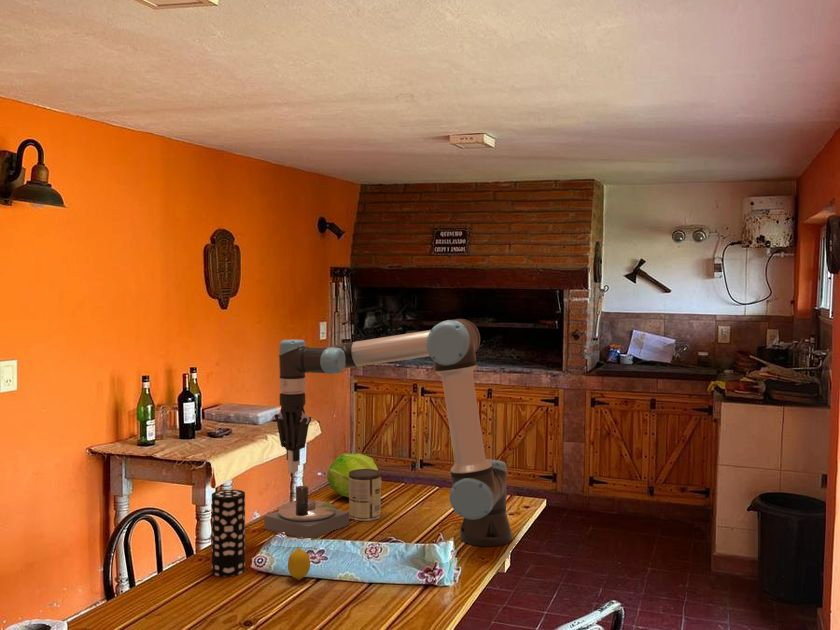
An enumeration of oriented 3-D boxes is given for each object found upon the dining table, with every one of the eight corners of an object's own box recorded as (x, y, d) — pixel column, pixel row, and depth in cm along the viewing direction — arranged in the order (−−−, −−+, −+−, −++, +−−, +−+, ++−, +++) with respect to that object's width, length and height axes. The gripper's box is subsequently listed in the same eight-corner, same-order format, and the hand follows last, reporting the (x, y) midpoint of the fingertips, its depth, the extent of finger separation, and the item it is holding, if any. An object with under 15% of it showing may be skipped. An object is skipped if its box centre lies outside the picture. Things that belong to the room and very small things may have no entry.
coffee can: (351, 511, 261) (351, 468, 260) (383, 512, 260) (383, 469, 259) (345, 520, 251) (345, 475, 250) (378, 521, 250) (378, 476, 249)
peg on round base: (287, 504, 253) (287, 474, 252) (340, 506, 251) (340, 475, 251) (271, 520, 236) (271, 488, 236) (328, 522, 234) (329, 490, 234)
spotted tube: (251, 568, 208) (251, 492, 207) (228, 579, 201) (228, 499, 200) (228, 562, 212) (228, 487, 211) (204, 572, 205) (204, 495, 204)
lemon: (285, 577, 202) (285, 546, 202) (307, 575, 204) (307, 543, 204) (290, 585, 197) (290, 553, 197) (312, 582, 199) (312, 550, 199)
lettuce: (358, 514, 265) (358, 470, 262) (318, 496, 278) (317, 455, 275) (393, 498, 278) (393, 457, 275) (353, 482, 291) (353, 442, 288)
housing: (349, 525, 246) (349, 512, 246) (308, 540, 231) (308, 526, 231) (305, 514, 256) (305, 502, 256) (264, 528, 242) (264, 515, 241)
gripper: (267, 391, 237) (268, 471, 238) (299, 395, 230) (300, 477, 231) (285, 389, 243) (286, 466, 244) (317, 392, 236) (318, 472, 237)
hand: (293, 471), depth 238 cm, fingers closed
